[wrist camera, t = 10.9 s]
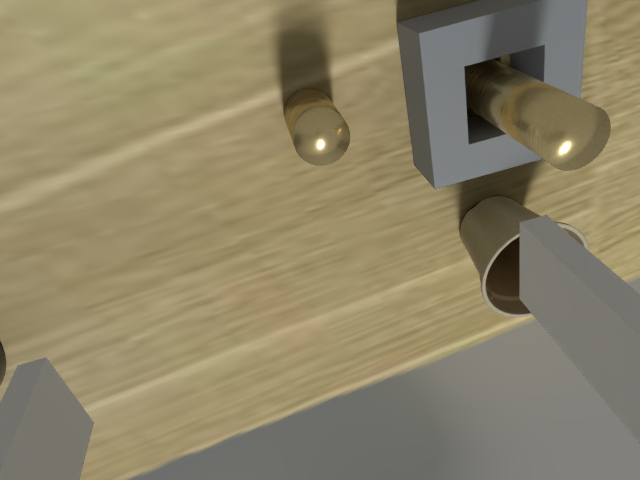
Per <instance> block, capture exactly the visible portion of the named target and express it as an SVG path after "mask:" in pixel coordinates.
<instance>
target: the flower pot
mask: <svg viewBox="0 0 640 480" xmlns="http://www.w3.org/2000/svg"><path fill="white" fill-rule="evenodd" d="M537 217H541V216H539V215H538V214H536V213H534V212H532V211H531V210H529V209H527V208H525V207H523V206H522V205H520V204H518V203H517V202H515V201H514V200H512V199H510V198H507V197H502V196H495V197H490V198H486V199H484V200H482V201H480V202H479V204H478V205H476V206H475V207H474V208H472V209H471V210H469V211H468V212H467V214H466V215H465V217H464V219H463V221H462V224H461V228H460V236H461V240H462V242H463V244H464V246H465V247H466V249H467V251H468V253H469V255H470V257H471V259H472V261H473V263H474V265H475V267H476V269H477V271H478V273H479V275H480V281H481V291H482V295H483V297H484V299H485V301H486V303H487V304H488V305H489V307H490V308H491V309H493V310H494V311H495V312H497V313H499V314H501V315H504V316H511V317H525V316H531V315H532V313H531V312H530V311H529V310H528V308H527V307H526V306H525V305H524V304H523V302H522V301H521V300H520V299H519V287H520V222H523V221H527V220H530V219H534V218H537ZM554 222H555V221H554ZM555 223H556V224H558V225H559V226H560V227H561V228H562V229H564V230H565V231H566V232H567V233H568V234H569V235H571V236H572V237H573V238H574V239H575V240H576V241H578V242H579V243H580V244H581V245H582V246H583V247H585V248H586V249H587V250H588V251H589V246H588V243H587V240H586V239H585V237H584V235H583V234H582V233H581V232H580V231H579V230H578V229H576V228H574V227H573V226H571V225H568V224H566V223H561V222H555Z"/></svg>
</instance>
